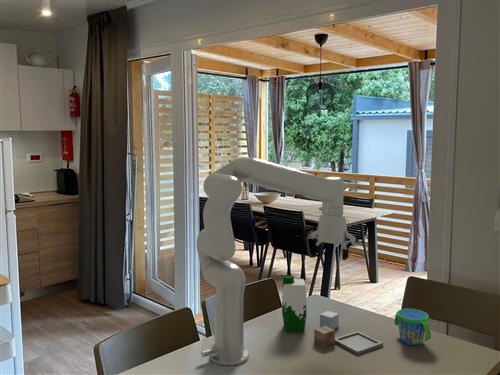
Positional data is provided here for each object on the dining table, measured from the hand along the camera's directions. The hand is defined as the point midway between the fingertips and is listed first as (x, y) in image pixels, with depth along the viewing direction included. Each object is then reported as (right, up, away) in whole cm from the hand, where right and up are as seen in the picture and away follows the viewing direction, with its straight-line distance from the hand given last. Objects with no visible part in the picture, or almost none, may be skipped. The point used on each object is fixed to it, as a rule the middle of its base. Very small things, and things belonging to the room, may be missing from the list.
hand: (332, 257), depth 177 cm
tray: (+7, -29, -9) cm, 31 cm away
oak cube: (-4, -29, -8) cm, 30 cm away
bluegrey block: (0, -27, +6) cm, 28 cm away
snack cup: (+26, -29, -8) cm, 40 cm away
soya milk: (-14, -28, +5) cm, 31 cm away
